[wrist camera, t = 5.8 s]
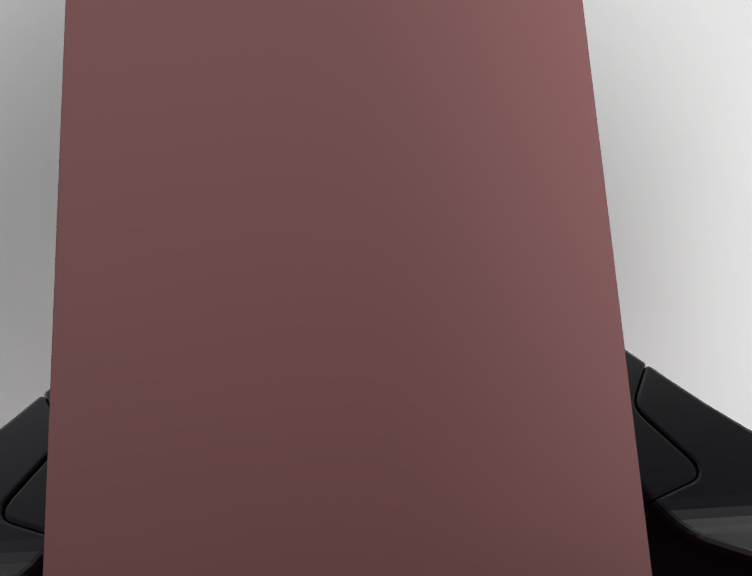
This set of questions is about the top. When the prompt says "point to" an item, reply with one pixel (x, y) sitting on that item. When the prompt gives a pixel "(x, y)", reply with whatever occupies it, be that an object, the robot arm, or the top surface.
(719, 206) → the top surface
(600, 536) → the dusty red block
